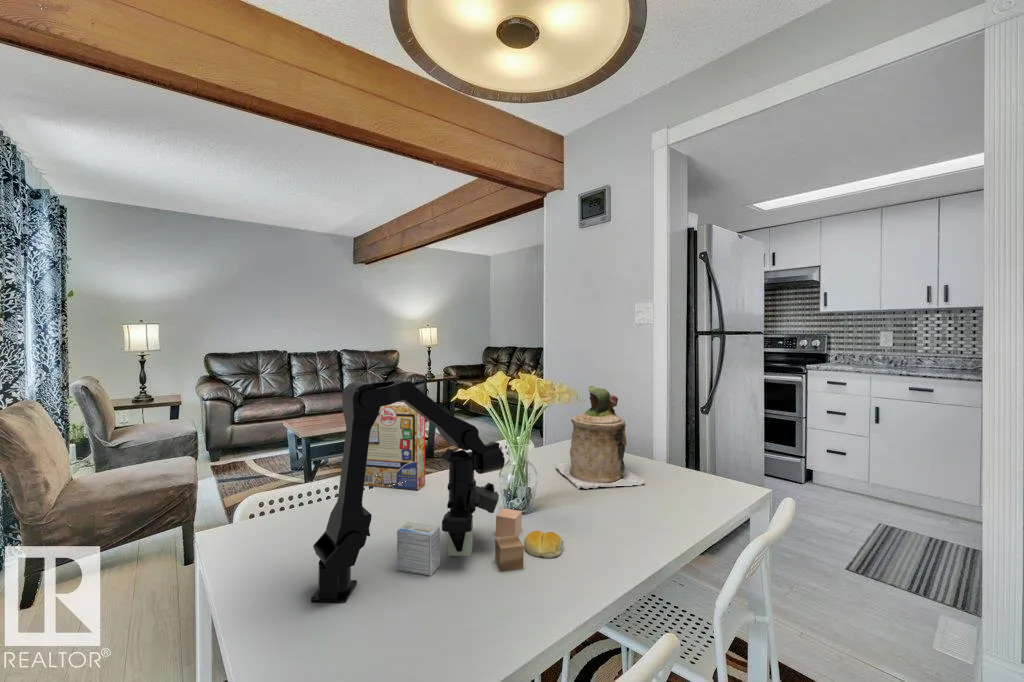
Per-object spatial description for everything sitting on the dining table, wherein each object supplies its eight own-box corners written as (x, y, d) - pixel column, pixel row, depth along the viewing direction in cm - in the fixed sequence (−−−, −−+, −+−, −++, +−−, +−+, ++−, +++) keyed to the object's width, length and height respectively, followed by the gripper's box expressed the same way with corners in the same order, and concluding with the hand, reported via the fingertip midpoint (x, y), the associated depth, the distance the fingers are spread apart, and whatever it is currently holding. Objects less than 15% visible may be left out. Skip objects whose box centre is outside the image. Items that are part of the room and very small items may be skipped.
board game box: (425, 484, 144) (426, 402, 144) (417, 491, 138) (418, 405, 137) (369, 479, 148) (369, 399, 148) (358, 485, 142) (359, 402, 142)
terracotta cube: (515, 539, 106) (515, 518, 106) (495, 536, 108) (496, 515, 108) (521, 530, 111) (521, 511, 111) (503, 527, 112) (503, 508, 112)
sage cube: (470, 555, 98) (471, 533, 98) (448, 555, 98) (448, 533, 98) (472, 545, 103) (472, 523, 103) (451, 544, 103) (451, 523, 103)
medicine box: (440, 566, 93) (440, 525, 93) (430, 577, 89) (431, 534, 89) (406, 560, 95) (407, 520, 95) (396, 571, 91) (396, 529, 91)
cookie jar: (578, 491, 139) (579, 391, 139) (552, 468, 163) (553, 383, 163) (647, 486, 146) (649, 389, 145) (613, 464, 169) (614, 382, 169)
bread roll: (528, 539, 106) (528, 523, 106) (565, 545, 104) (565, 528, 104) (519, 555, 98) (519, 538, 98) (558, 562, 96) (558, 544, 96)
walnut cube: (523, 569, 93) (523, 545, 93) (500, 572, 91) (500, 548, 91) (516, 557, 97) (517, 535, 97) (494, 560, 96) (495, 537, 96)
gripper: (495, 492, 91) (494, 567, 91) (497, 465, 109) (497, 528, 110) (441, 492, 91) (441, 567, 91) (453, 465, 109) (452, 527, 110)
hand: (460, 545), depth 100 cm, fingers closed on sage cube, 5 cm apart
